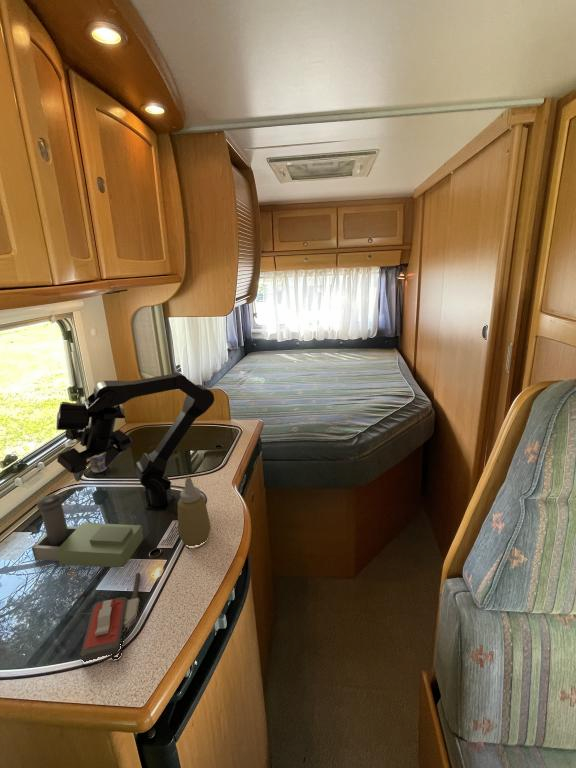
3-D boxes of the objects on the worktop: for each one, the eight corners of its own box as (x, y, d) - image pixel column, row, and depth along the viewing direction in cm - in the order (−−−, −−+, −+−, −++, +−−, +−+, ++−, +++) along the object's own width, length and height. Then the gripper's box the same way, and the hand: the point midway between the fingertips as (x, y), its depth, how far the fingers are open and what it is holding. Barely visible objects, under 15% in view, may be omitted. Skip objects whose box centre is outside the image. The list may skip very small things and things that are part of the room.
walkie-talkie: (133, 662, 68) (144, 577, 86) (129, 643, 66) (141, 561, 85) (79, 675, 66) (102, 585, 84) (73, 656, 64) (98, 569, 83)
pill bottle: (101, 473, 130) (96, 451, 128) (89, 472, 131) (84, 450, 128) (110, 466, 134) (106, 445, 132) (98, 465, 135) (94, 444, 133)
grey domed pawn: (77, 541, 98) (66, 494, 93) (64, 556, 93) (52, 507, 88) (58, 540, 98) (47, 493, 94) (44, 555, 93) (31, 506, 89)
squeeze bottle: (192, 557, 91) (183, 492, 86) (173, 542, 96) (164, 480, 91) (218, 539, 97) (212, 477, 92) (199, 526, 102) (192, 466, 97)
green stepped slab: (143, 538, 98) (140, 521, 96) (123, 567, 89) (120, 549, 87) (59, 534, 101) (55, 517, 99) (31, 562, 91) (26, 544, 89)
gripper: (110, 403, 110) (100, 445, 116) (46, 423, 93) (39, 471, 100) (137, 423, 107) (126, 465, 113) (77, 448, 90) (68, 495, 96)
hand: (92, 472), depth 106 cm, fingers open, 9 cm apart
